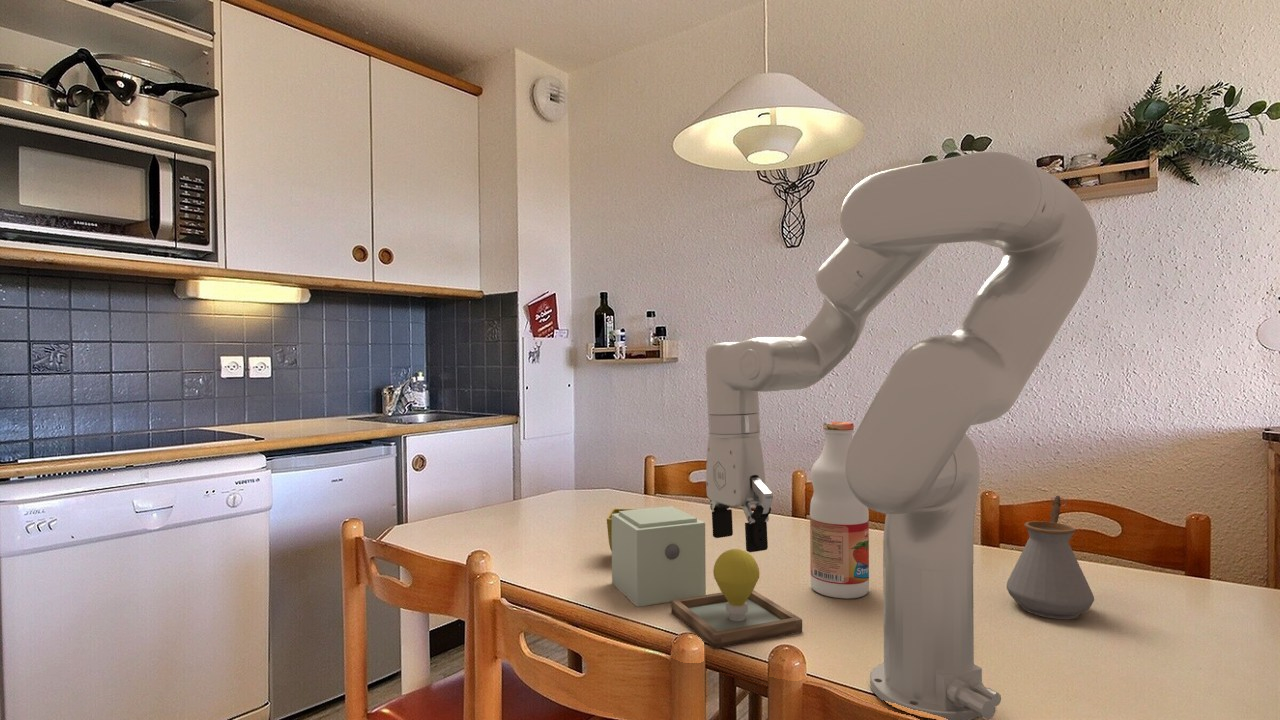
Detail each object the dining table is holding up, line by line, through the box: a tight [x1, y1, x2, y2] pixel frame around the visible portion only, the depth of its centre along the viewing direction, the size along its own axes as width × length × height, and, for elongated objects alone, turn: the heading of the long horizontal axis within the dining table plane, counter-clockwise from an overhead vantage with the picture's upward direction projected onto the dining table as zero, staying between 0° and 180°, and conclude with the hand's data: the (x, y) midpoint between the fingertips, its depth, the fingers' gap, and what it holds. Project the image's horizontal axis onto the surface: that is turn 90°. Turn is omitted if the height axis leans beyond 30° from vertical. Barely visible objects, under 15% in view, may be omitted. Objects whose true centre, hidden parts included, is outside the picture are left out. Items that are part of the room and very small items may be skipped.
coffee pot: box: [1006, 495, 1095, 620], centre depth 106 cm, size 21×12×15 cm, turn 143°
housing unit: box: [611, 505, 707, 608], centre depth 112 cm, size 13×12×13 cm
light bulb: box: [712, 548, 760, 621], centre depth 97 cm, size 7×7×10 cm
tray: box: [670, 589, 803, 650], centre depth 98 cm, size 14×14×2 cm
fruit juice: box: [809, 421, 870, 599], centre depth 111 cm, size 9×9×28 cm
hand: (739, 543), depth 97 cm, fingers open, 9 cm apart
